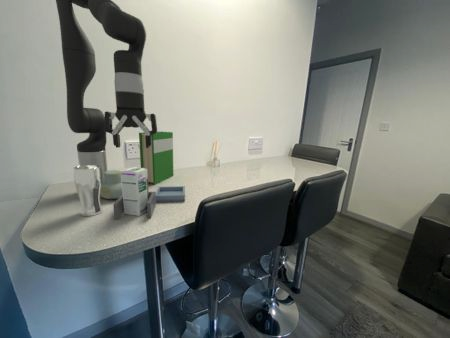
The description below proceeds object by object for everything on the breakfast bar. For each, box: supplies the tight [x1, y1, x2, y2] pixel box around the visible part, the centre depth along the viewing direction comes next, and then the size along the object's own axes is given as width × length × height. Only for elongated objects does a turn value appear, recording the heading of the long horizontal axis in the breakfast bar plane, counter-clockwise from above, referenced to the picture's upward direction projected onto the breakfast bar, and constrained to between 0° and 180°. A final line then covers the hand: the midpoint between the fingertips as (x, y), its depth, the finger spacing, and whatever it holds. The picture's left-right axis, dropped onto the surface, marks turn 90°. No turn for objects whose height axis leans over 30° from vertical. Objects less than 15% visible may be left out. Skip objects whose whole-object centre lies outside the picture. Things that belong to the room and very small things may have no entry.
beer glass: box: [73, 165, 104, 217], centre depth 63 cm, size 7×7×15 cm
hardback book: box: [138, 131, 174, 185], centre depth 102 cm, size 18×7×24 cm, turn 166°
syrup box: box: [120, 166, 150, 217], centre depth 65 cm, size 6×6×14 cm
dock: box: [112, 191, 157, 220], centre depth 66 cm, size 10×10×5 cm
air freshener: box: [100, 169, 123, 200], centre depth 77 cm, size 11×8×10 cm
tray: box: [155, 185, 186, 203], centre depth 81 cm, size 11×11×2 cm
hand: (133, 147), depth 62 cm, fingers open, 8 cm apart
